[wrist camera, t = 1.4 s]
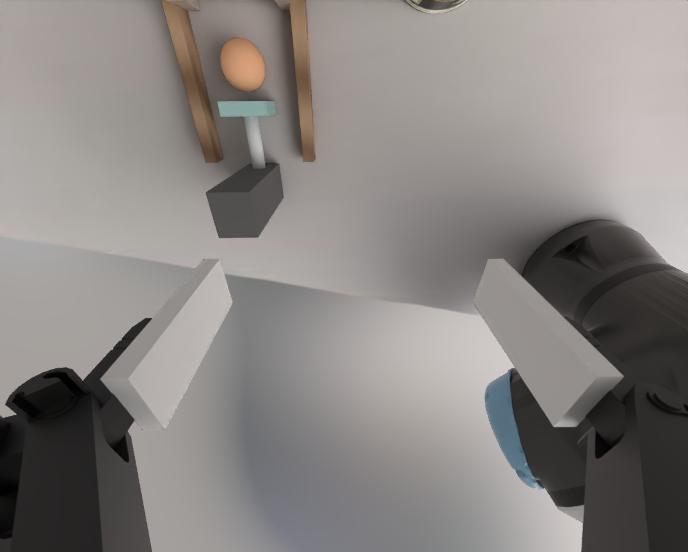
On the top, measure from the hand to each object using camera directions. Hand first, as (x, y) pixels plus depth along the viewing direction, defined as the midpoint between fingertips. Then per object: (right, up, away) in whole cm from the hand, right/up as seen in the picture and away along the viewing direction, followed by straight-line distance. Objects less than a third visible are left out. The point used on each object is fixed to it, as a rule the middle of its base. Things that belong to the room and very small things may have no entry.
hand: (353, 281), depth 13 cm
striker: (-10, +15, +17) cm, 25 cm away
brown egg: (-10, +20, +12) cm, 25 cm away
